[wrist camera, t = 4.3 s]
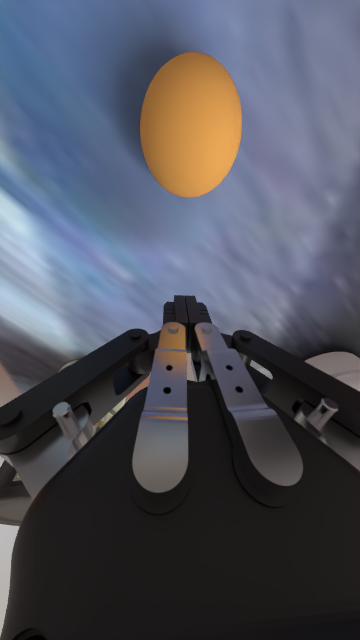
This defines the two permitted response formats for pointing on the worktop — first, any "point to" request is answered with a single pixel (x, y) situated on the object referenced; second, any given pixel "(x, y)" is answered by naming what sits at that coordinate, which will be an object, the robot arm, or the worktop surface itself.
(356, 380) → the honey pot
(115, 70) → the worktop surface
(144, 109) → the ball
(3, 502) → the coffee can
